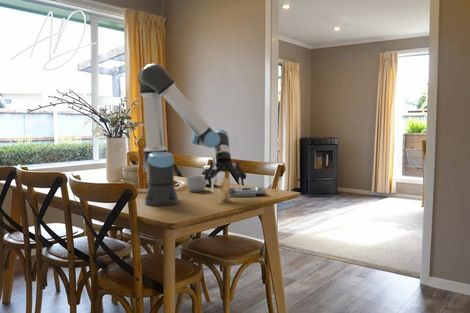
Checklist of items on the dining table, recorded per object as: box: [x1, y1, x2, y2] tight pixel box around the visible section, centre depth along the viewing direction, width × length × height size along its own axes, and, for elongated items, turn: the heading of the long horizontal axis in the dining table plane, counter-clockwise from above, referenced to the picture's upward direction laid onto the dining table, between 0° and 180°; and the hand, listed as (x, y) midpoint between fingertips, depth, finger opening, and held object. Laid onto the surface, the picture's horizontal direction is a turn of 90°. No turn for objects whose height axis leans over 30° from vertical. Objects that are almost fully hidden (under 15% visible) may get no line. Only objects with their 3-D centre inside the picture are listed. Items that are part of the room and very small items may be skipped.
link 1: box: [230, 187, 257, 198], centre depth 212 cm, size 15×10×4 cm, turn 98°
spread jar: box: [201, 165, 218, 188], centre depth 242 cm, size 12×11×12 cm
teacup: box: [185, 174, 207, 193], centre depth 226 cm, size 14×11×8 cm
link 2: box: [233, 186, 267, 196], centre depth 213 cm, size 15×10×4 cm, turn 98°
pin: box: [220, 177, 231, 203], centre depth 195 cm, size 4×4×11 cm
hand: (227, 190), depth 194 cm, fingers open, 13 cm apart
